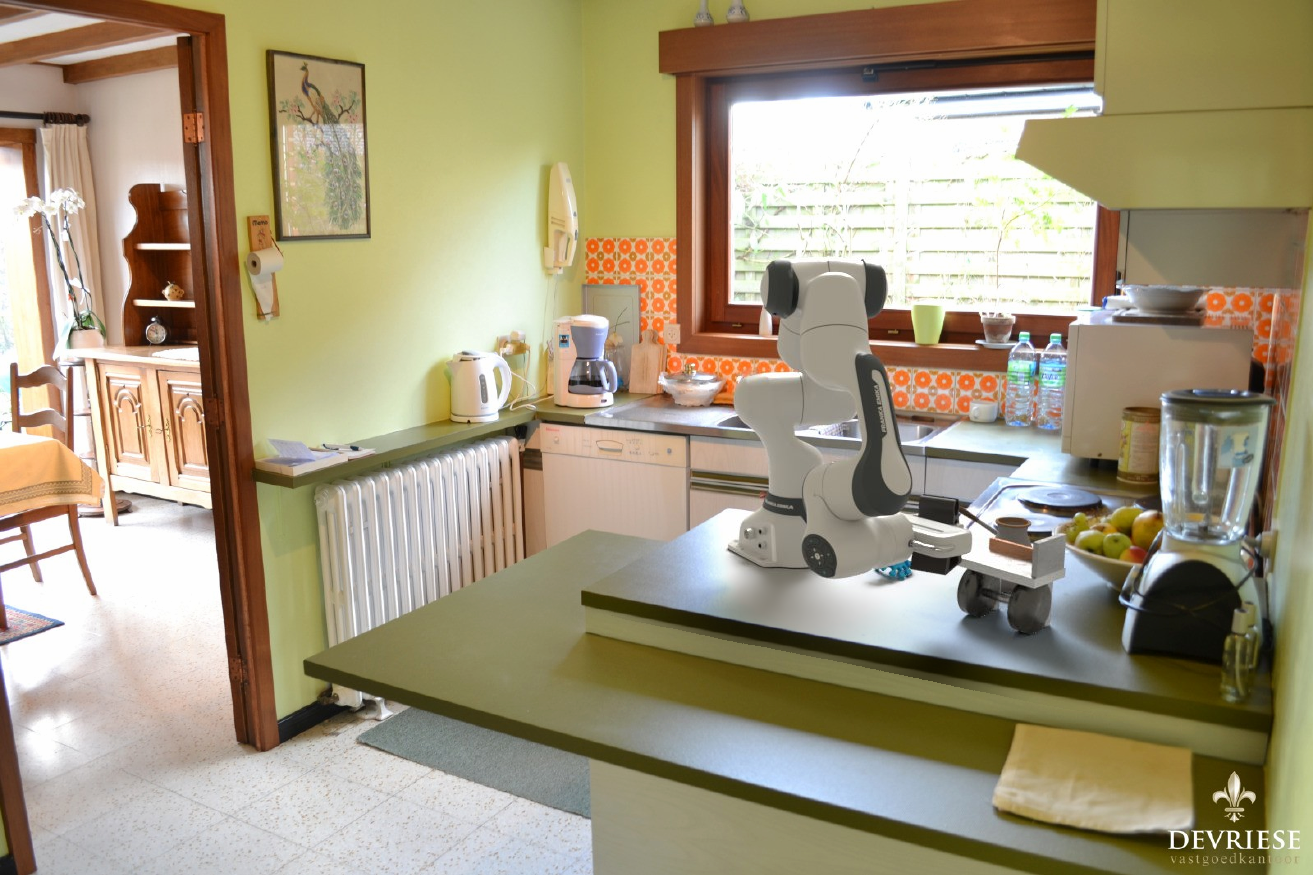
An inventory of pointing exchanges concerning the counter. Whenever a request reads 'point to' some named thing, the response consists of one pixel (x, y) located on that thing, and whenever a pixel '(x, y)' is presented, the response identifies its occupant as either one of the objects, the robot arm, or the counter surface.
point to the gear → (899, 569)
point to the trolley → (1013, 580)
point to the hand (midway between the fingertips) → (941, 523)
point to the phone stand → (944, 513)
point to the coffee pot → (1005, 535)
